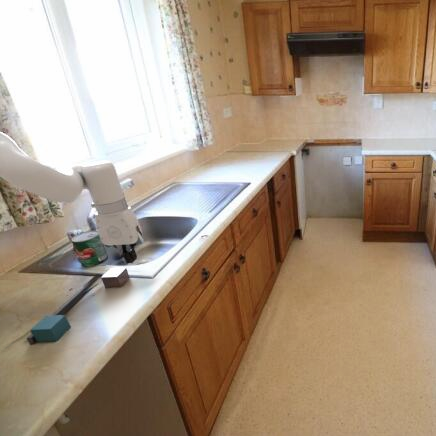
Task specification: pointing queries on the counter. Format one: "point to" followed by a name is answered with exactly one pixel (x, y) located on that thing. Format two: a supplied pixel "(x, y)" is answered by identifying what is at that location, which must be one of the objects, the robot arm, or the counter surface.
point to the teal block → (50, 328)
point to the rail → (70, 302)
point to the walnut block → (115, 277)
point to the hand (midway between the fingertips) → (131, 260)
